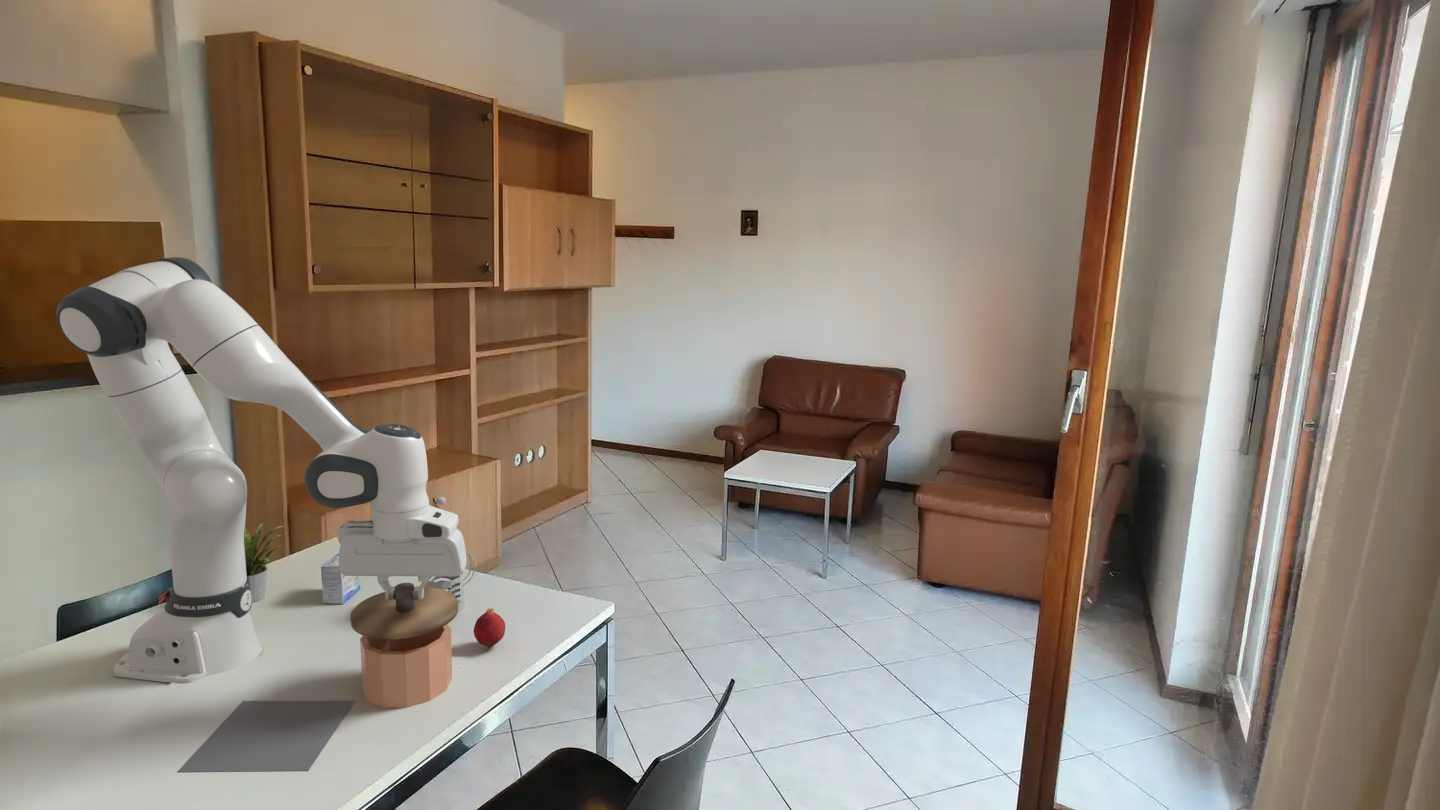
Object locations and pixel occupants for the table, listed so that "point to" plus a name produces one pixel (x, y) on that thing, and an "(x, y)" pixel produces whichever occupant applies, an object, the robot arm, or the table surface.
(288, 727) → the mat
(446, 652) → the flower pot
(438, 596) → the lid
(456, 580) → the french press
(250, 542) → the house plant
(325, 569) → the medicine box
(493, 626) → the red pomegranate
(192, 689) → the table surface
